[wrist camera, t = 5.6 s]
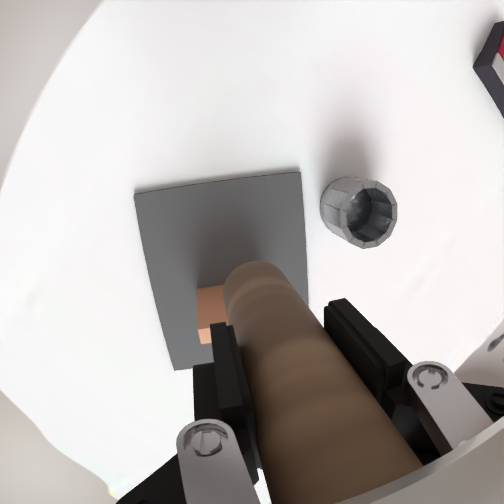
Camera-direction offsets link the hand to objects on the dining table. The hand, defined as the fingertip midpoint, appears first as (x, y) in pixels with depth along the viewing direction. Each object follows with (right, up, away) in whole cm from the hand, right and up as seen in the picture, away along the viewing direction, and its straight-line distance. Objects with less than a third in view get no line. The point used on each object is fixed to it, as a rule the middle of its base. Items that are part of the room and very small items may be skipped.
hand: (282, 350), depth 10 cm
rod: (-1, +1, +5) cm, 5 cm away
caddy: (+9, +8, +22) cm, 25 cm away
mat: (-3, +1, +22) cm, 22 cm away
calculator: (+38, +32, +20) cm, 54 cm away
